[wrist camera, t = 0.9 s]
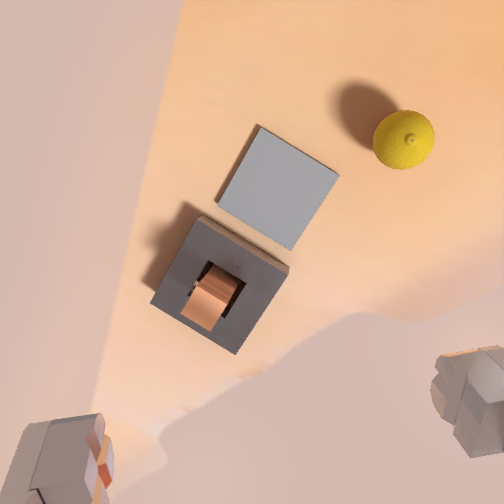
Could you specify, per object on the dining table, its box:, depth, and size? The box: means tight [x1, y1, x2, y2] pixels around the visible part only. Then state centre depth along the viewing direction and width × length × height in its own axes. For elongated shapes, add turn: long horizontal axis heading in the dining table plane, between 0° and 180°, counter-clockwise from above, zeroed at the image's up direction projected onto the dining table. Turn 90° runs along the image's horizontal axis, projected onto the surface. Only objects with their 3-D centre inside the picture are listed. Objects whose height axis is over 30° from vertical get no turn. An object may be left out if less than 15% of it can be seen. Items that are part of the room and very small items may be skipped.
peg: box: [180, 264, 241, 331], centre depth 46 cm, size 4×4×9 cm
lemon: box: [373, 110, 434, 169], centre depth 40 cm, size 6×6×8 cm
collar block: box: [150, 215, 290, 355], centre depth 49 cm, size 12×12×3 cm
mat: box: [217, 128, 339, 251], centre depth 47 cm, size 10×10×1 cm
